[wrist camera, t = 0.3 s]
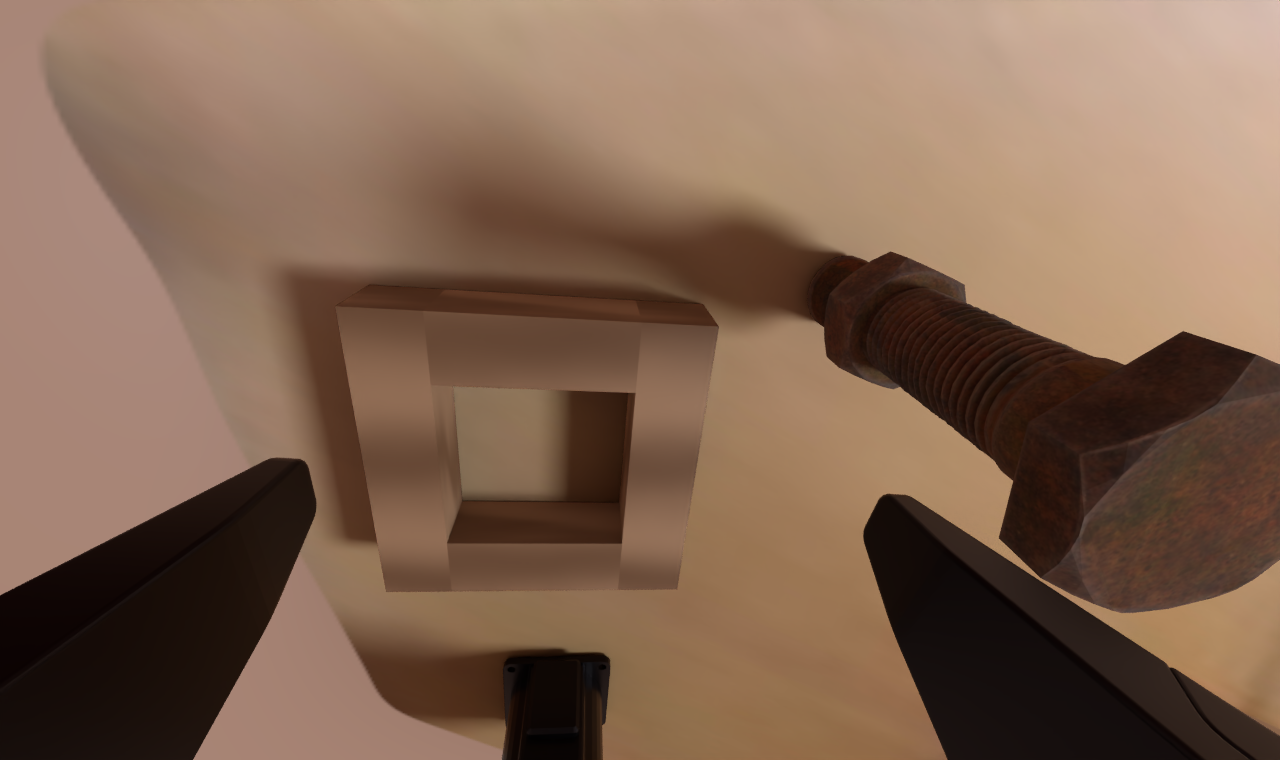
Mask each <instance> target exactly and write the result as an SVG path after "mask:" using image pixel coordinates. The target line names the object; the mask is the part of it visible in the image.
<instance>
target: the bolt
mask: <svg viewBox="0 0 1280 760" xmlns="http://www.w3.org/2000/svg"><path fill="white" fill-rule="evenodd" d="M807 299H808V307H809V310H810V314H811V315H812V317H813V319H814V320H815V321H816V322H818V323H819V324H820V325H822V326H823V327H824V339H825V347H826V355H827V357H828V358H829V359H830V360H831V361H832V362H833V363H835V364H836V365H837V366H838V367H839V368H841V369H843V370H845V371H847V372H849V373H851V374H853V375H855V376H857V377H859V378H862V379H864V380H866V381H869V382H871V383H874V384H877V385H879V386H882V387H886V388H890V389H895V388H898V387H901V388H902V389H903V390H904V391H905V392H907V393H909V394H910V395H911V396H912V397H914V398H915V399H916V400H918V401H919V402H920V403H921V404H922V405H923V406H925V407H926V408H928V409H929V410H930V411H931V412H933V413H934V414H935V415H937V416H938V417H939V418H941V419H942V420H944V421H946V423H947V424H948V425H950V426H952V427H953V428H954V430H956V431H957V432H958V433H960V434H961V435H962V436H963V437H964V438H966V439H968V440H969V441H970V442H971V443H972V444H973V445H975V446H976V447H977V448H978V449H979V450H981V451H983V452H984V453H985V454H987V455H988V456H989V457H990V458H992V459H993V460H994V461H995V462H996V464H997V465H998V467H999V468H1000V470H1001V471H1002V472H1003V473H1004V474H1006V475H1007V476H1008V477H1009V478H1011V479H1012V480H1013V484H1012V488H1011V492H1010V496H1009V500H1008V504H1007V508H1006V512H1005V516H1004V520H1003V524H1002V528H1001V531H1000V535H999V539H1000V540H1001V541H1002V542H1003V543H1005V544H1006V545H1007V546H1008V547H1009V548H1010V549H1011V550H1012V551H1013V552H1014V553H1015V554H1016V555H1017V556H1018V557H1019V558H1020V559H1021V560H1022V561H1023V562H1024V563H1026V564H1027V565H1028V566H1029V567H1030V568H1031V569H1032V570H1033V571H1034V572H1035V573H1036V574H1037V575H1038V576H1039V577H1040V578H1042V579H1044V580H1046V581H1048V582H1049V583H1051V584H1053V585H1055V586H1057V587H1059V588H1061V589H1063V590H1065V591H1066V592H1068V593H1070V594H1072V595H1074V596H1077V597H1079V598H1081V599H1084V600H1086V601H1088V602H1091V603H1093V604H1096V605H1098V606H1101V607H1104V608H1107V609H1110V610H1112V611H1116V612H1119V613H1136V612H1144V611H1153V610H1161V609H1169V608H1173V607H1177V606H1181V605H1186V604H1190V603H1194V602H1198V601H1202V600H1206V599H1210V598H1214V597H1217V596H1220V595H1223V594H1225V593H1228V592H1230V591H1233V590H1236V589H1238V588H1239V587H1241V586H1243V585H1245V584H1246V583H1248V582H1250V581H1252V580H1253V579H1255V578H1256V577H1258V576H1259V575H1260V574H1262V573H1263V572H1264V571H1266V570H1267V569H1268V568H1270V567H1271V566H1272V565H1273V564H1275V563H1276V562H1277V561H1279V560H1280V364H1277V363H1275V362H1273V361H1270V360H1268V359H1265V358H1263V357H1261V356H1258V355H1256V354H1252V353H1249V352H1246V351H1243V350H1240V349H1237V348H1234V347H1231V346H1228V345H1224V344H1221V343H1218V342H1215V341H1212V340H1209V339H1206V338H1203V337H1199V336H1196V335H1193V334H1190V333H1187V332H1184V331H1183V332H1181V333H1179V334H1177V335H1176V336H1174V337H1172V338H1171V339H1169V340H1167V341H1166V342H1164V343H1162V344H1160V345H1159V346H1157V347H1155V348H1154V349H1152V350H1150V351H1149V352H1147V353H1145V354H1143V355H1142V356H1140V357H1138V358H1137V359H1135V360H1133V361H1132V362H1130V363H1128V364H1126V365H1123V364H1121V363H1118V362H1115V361H1113V360H1110V359H1106V358H1097V357H1093V356H1090V355H1087V354H1086V353H1083V352H1080V351H1078V350H1075V349H1073V348H1071V347H1069V346H1067V345H1065V344H1062V343H1059V342H1056V341H1053V340H1051V339H1049V338H1046V337H1043V336H1040V335H1038V334H1036V333H1033V332H1031V331H1028V330H1025V329H1023V328H1021V327H1019V326H1016V325H1013V324H1012V323H1011V322H1009V321H1007V320H1005V319H1002V318H999V317H997V316H996V315H994V314H990V313H988V312H986V311H982V310H981V309H979V308H977V307H973V306H972V305H970V304H967V303H966V295H965V285H964V284H962V283H960V282H958V281H957V280H955V279H953V278H950V277H948V276H946V275H944V274H942V273H940V272H938V271H936V270H934V269H932V268H930V267H927V266H925V265H923V264H921V263H918V262H916V261H914V260H912V259H909V258H907V257H904V256H901V255H899V254H896V253H893V252H889V253H887V254H885V255H882V256H880V257H878V258H876V259H874V260H872V261H870V262H867V261H865V260H863V259H860V258H857V257H854V256H841V257H836V258H834V259H832V260H830V261H829V262H828V263H826V264H825V265H824V266H823V267H822V268H821V269H820V270H819V271H818V273H817V274H816V275H815V277H814V278H813V280H812V282H811V284H810V287H809V291H808V298H807Z"/></svg>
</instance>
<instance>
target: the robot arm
mask: <svg viewBox="0 0 1280 760" xmlns="http://www.w3.org/2000/svg"><path fill="white" fill-rule="evenodd" d="M315 513H316V497H315V493H314V489H313V485H312V481H311V476H310V472H309V468H308V465H307V464H306V462H305V461H303V460H301V459H292V458H270V459H268V460H266V461H263V462H261V463H260V464H258V465H256V466H254V467H252V468H250V469H248V470H246V471H244V472H242V473H240V474H238V475H236V476H234V477H232V478H230V479H228V480H226V481H224V482H222V483H220V484H218V485H216V486H214V487H212V488H210V489H208V490H207V491H204V492H203V493H201V494H199V495H197V496H195V497H193V498H191V499H189V500H187V501H185V502H183V503H181V504H179V505H177V506H175V507H173V508H171V509H169V510H167V511H165V512H163V513H161V514H159V515H157V516H155V517H153V518H151V519H149V520H148V521H145V522H144V523H142V524H140V525H138V526H136V527H134V528H132V529H130V530H128V531H126V532H124V533H122V534H120V535H118V536H116V537H114V538H112V539H110V540H108V541H106V542H105V543H102V544H100V545H98V546H96V547H94V548H92V549H90V550H89V551H87V552H85V553H83V554H81V555H79V556H77V557H75V558H73V559H71V560H69V561H67V562H65V563H63V564H61V565H59V566H57V567H55V568H53V569H51V570H49V571H47V572H45V573H43V574H41V575H39V576H37V577H35V578H33V579H31V580H29V581H27V582H25V583H24V584H22V585H20V586H18V587H16V588H14V589H12V590H10V591H8V592H6V593H4V594H2V595H0V760H193V759H194V757H195V755H196V753H197V752H198V750H199V748H200V746H201V744H202V743H203V740H204V739H205V737H206V735H207V734H208V732H209V730H210V728H211V726H212V724H213V723H214V721H215V719H216V717H217V716H218V714H219V712H220V710H221V708H222V707H223V705H224V703H225V701H226V699H227V698H228V696H229V694H230V692H231V690H232V689H233V687H234V685H235V683H236V681H237V679H238V678H239V676H240V674H241V672H242V670H243V669H244V667H245V665H246V663H247V662H248V659H249V658H250V656H251V654H252V652H253V651H254V649H255V647H256V645H257V644H258V642H259V640H260V638H261V636H262V634H263V633H264V630H265V629H266V627H267V625H268V623H269V621H270V619H271V617H272V615H273V613H274V610H275V608H276V606H277V604H278V602H279V600H280V597H281V595H282V592H283V590H284V588H285V585H286V583H287V581H288V578H289V576H290V574H291V571H292V569H293V566H294V564H295V562H296V559H297V557H298V555H299V552H300V550H301V548H302V545H303V543H304V541H305V538H306V536H307V533H308V531H309V529H310V526H311V524H312V522H313V519H314V517H315ZM863 537H864V544H865V547H866V550H867V553H868V556H869V559H870V562H871V566H872V569H873V572H874V575H875V578H876V581H877V584H878V587H879V591H880V594H881V597H882V600H883V603H884V606H885V609H886V612H887V615H888V618H889V621H890V624H891V627H892V630H893V632H894V635H895V637H896V640H897V642H898V645H899V647H900V649H901V652H902V654H903V656H904V659H905V661H906V663H907V666H908V668H909V670H910V673H911V675H912V677H913V680H914V682H915V685H916V687H917V689H918V692H919V694H920V696H921V699H922V701H923V703H924V706H925V708H926V710H927V713H928V715H929V717H930V720H931V722H932V724H933V727H934V729H935V731H936V734H937V736H938V738H939V741H940V743H941V745H942V748H943V750H944V752H945V755H946V757H947V759H948V760H1280V736H1279V735H1277V734H1276V733H1274V732H1273V731H1271V730H1269V729H1268V728H1266V727H1264V726H1263V725H1261V724H1260V723H1258V722H1257V721H1255V720H1254V719H1252V718H1251V717H1249V716H1247V715H1246V714H1244V713H1243V712H1241V711H1240V710H1238V709H1236V708H1235V707H1233V706H1232V705H1230V704H1229V703H1227V702H1225V701H1224V700H1222V699H1221V698H1219V697H1218V696H1216V695H1215V694H1213V693H1211V692H1210V691H1208V690H1207V689H1205V688H1204V687H1202V686H1201V685H1199V684H1198V683H1196V682H1195V681H1193V680H1191V679H1190V678H1188V677H1187V676H1185V675H1184V674H1182V673H1181V672H1179V671H1178V670H1176V669H1174V668H1169V667H1168V665H1167V664H1166V663H1165V662H1164V661H1162V660H1161V659H1159V658H1158V657H1156V656H1154V655H1153V654H1151V653H1150V652H1148V651H1147V650H1145V649H1144V648H1142V647H1141V646H1139V645H1138V644H1136V643H1135V642H1133V641H1131V640H1130V639H1128V638H1127V637H1125V636H1124V635H1122V634H1121V633H1119V632H1118V631H1116V630H1115V629H1113V628H1112V627H1110V626H1108V625H1107V624H1105V623H1104V622H1102V621H1101V620H1099V619H1098V618H1096V617H1095V616H1093V615H1092V614H1090V613H1089V612H1087V611H1085V610H1084V609H1082V608H1081V607H1079V606H1078V605H1076V604H1075V603H1073V602H1072V601H1070V600H1069V599H1067V598H1066V597H1064V596H1062V595H1061V594H1059V593H1058V592H1056V591H1055V590H1053V589H1052V588H1050V587H1049V586H1047V585H1046V584H1044V583H1043V582H1041V581H1039V580H1038V579H1036V578H1035V577H1033V576H1032V575H1030V574H1029V573H1027V572H1026V571H1024V570H1023V569H1021V568H1020V567H1018V566H1016V565H1015V564H1013V563H1012V562H1010V561H1009V560H1007V559H1006V558H1004V557H1003V556H1001V555H1000V554H998V553H997V552H995V551H993V550H992V549H990V548H989V547H987V546H986V545H984V544H983V543H981V542H980V541H978V540H977V539H975V538H974V537H972V536H970V535H969V534H967V533H966V532H964V531H963V530H961V529H960V528H958V527H957V526H955V525H954V524H952V523H951V522H949V521H947V520H946V519H944V518H943V517H941V516H940V515H938V514H937V513H935V512H934V511H932V510H931V509H929V508H928V507H926V506H924V505H923V504H921V503H920V502H918V501H917V500H915V499H914V498H912V497H910V496H907V495H898V494H885V495H883V496H882V497H881V498H880V499H879V500H878V502H877V504H876V506H875V508H874V510H873V512H872V514H871V516H870V518H869V520H868V522H867V524H866V526H865V528H864V535H863ZM609 676H610V659H609V658H608V657H606V656H575V657H534V658H509V659H507V660H506V661H505V662H504V668H503V678H504V700H505V721H506V734H505V741H504V748H503V755H502V760H603V748H602V725H603V724H605V721H606V709H607V698H608V687H609Z"/></svg>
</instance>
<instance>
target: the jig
mask: <svg viewBox="0 0 1280 760" xmlns="http://www.w3.org/2000/svg"><path fill="white" fill-rule="evenodd" d="M335 309H336V314H337V320H338V326H339V331H340V337H341V342H342V348H343V354H344V359H345V365H346V370H347V376H348V382H349V387H350V393H351V398H352V404H353V410H354V415H355V421H356V426H357V432H358V438H359V443H360V449H361V454H362V460H363V465H364V471H365V477H366V482H367V488H368V493H369V499H370V505H371V510H372V516H373V521H374V527H375V533H376V538H377V544H378V549H379V555H380V561H381V566H382V572H383V577H384V583H385V589H386V592H441V591H548V590H655V589H677V587H678V580H679V574H680V568H681V562H682V555H683V549H684V543H685V536H686V530H687V524H688V517H689V511H690V505H691V499H692V492H693V486H694V480H695V473H696V467H697V461H698V454H699V448H700V442H701V436H702V429H703V423H704V417H705V410H706V404H707V398H708V392H709V385H710V379H711V373H712V366H713V360H714V354H715V347H716V341H717V335H718V329H719V326H718V325H717V323H716V322H715V320H714V319H713V318H712V316H711V315H710V313H709V312H708V311H707V309H706V308H705V306H704V305H703V304H689V303H672V302H654V301H637V300H620V299H603V298H585V297H568V296H551V295H534V294H517V293H499V292H482V291H465V290H448V289H430V288H413V287H396V286H379V285H368V286H367V287H365V288H363V289H362V290H360V291H359V292H357V293H355V294H354V295H352V296H351V297H349V298H347V299H346V300H344V301H343V302H341V303H340V304H338V305H336V306H335ZM453 386H460V387H487V388H515V389H542V390H569V391H597V392H624V393H628V400H627V412H626V424H625V436H624V448H623V460H622V472H621V484H620V496H619V503H596V502H504V501H462V491H461V479H460V466H459V454H458V442H457V430H456V417H455V405H454V393H453Z"/></svg>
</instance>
